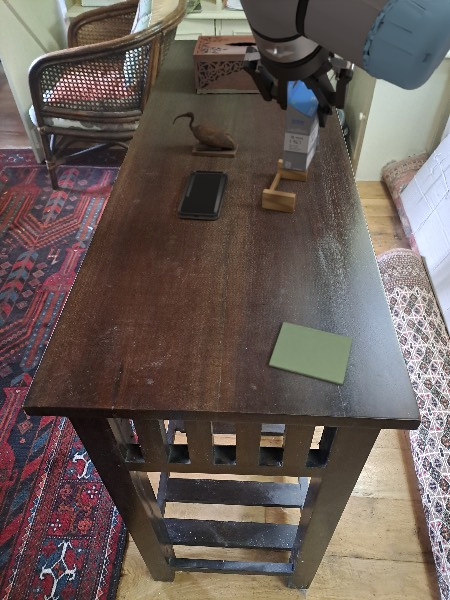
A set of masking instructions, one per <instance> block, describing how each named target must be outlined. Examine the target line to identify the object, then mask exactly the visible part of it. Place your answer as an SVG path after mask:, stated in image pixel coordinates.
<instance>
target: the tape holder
mask: <svg viewBox="0 0 450 600" xmlns="http://www.w3.org/2000/svg"><path fill="white" fill-rule="evenodd" d="M282 163H283V158H279V159H278V161H277V171H276V175H275V177H274V179H273V181H272V183H271V184H270V187H269V189H267V188H264V189H263V191H262V197H261V199H262V201H261V208H262V209H267V210H272V211H279V212H285V213H289V214H294V211H295V206H296V197H297V196H296V193H292V192H286V191H281V190H280V191H279V190H276V189H277V187H278V185H279V182H280V180H281V179H287V180H293V181H299V182H307V180H308V175H309V174H308V173H309V168H308V169H307V171H306V172H298V171H292V170H286V169H282Z"/></svg>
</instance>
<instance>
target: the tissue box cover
mask: <svg viewBox="0 0 450 600" xmlns="http://www.w3.org/2000/svg"><path fill="white" fill-rule="evenodd" d="M248 46H252V47H254V48H256V49H257V45H256V42H255V40H254V37H253V34H229V35H228V34H227V35H226V34H224V35H221V34H219V35H198V37H197V41H196V44H195V47H194V50H193V53H192V54H193V55H192V57H193V58H192V59H193V70H194V84H195V90H196V89H201V90H203V89H206V90H208V89H210V90H212V89H236V90H258V88H257V86H256V84H255V83H254V81H253V79H252V77H251V76H250V75H249V74H248V73H247V72H246V71H244V70H243V69H242V67H243V62H244V58H245V53H246V48H247V47H248ZM257 50H258V49H257ZM273 78H274V80H275V82H276V84H275V85H276V86H278V79H277V78H275V77H274V76H273Z"/></svg>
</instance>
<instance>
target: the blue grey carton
mask: <svg viewBox="0 0 450 600" xmlns="http://www.w3.org/2000/svg"><path fill="white" fill-rule="evenodd" d="M295 83H296V84H295ZM318 103H319V102H318V100H317V99H316V97H315V95H314V93H313V92H312V90H308V89H307V87H306V86H305V84H304V82H301V80H298V81H289V84H288V89H287V110H286V115H285V127H284V140H283V153H282V159H283V163H282V169H286V170H292V171H298V172H306V171H307V169H308V170H309V166H310V164H311V163H312V160H313V158H314V156H315V154H316V152H317V149H318V147H319V142H320V136H321V128H322V127H320V125H319V119H318V114H317V107H318Z"/></svg>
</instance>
